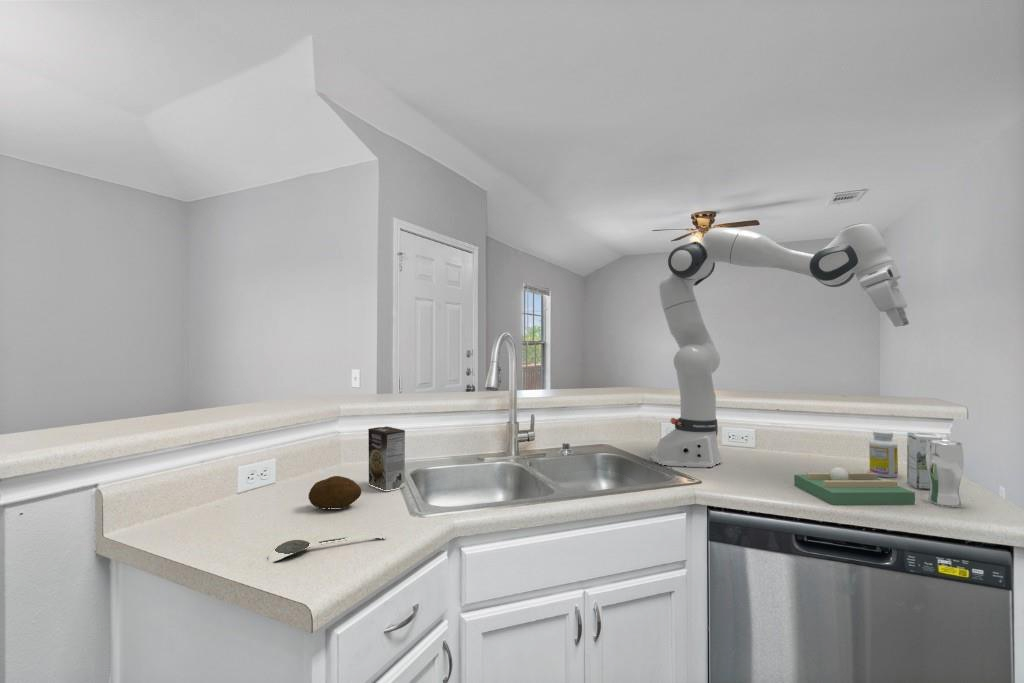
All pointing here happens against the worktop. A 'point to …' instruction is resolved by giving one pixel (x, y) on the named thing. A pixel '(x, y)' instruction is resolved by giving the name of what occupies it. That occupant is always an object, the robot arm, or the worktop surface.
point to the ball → (838, 474)
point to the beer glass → (944, 471)
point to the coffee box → (386, 457)
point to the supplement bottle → (883, 454)
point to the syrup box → (918, 459)
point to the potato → (334, 492)
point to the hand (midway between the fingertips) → (902, 325)
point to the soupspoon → (296, 546)
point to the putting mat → (855, 489)
